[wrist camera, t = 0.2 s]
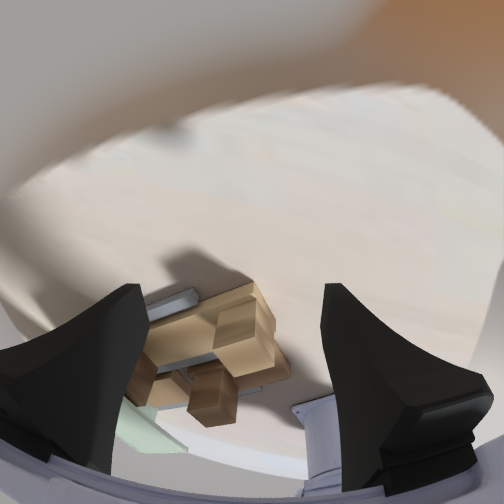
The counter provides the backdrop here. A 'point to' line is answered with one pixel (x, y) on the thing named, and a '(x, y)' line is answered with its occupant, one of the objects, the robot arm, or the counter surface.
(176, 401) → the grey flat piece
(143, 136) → the counter surface
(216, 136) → the counter surface
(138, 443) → the shelter
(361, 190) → the counter surface
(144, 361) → the cube
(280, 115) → the counter surface
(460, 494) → the robot arm
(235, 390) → the block brown
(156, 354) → the tan stepped wooden piece
